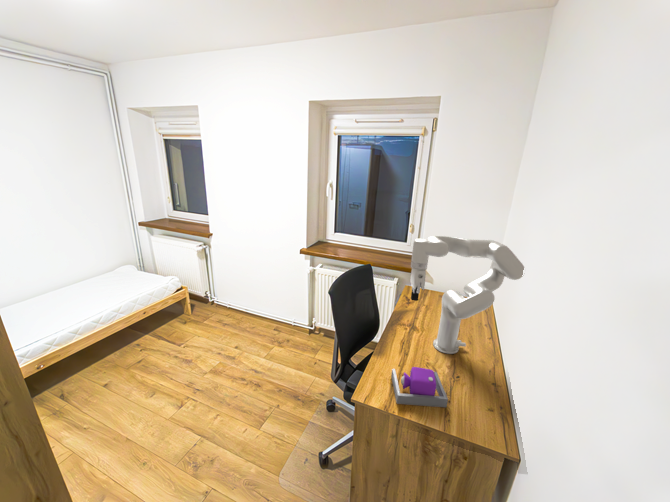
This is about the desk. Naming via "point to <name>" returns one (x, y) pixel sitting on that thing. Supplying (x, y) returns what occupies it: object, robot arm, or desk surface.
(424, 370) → the toy camera
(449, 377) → the desk surface
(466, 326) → the desk surface
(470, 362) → the desk surface
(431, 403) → the cradle
